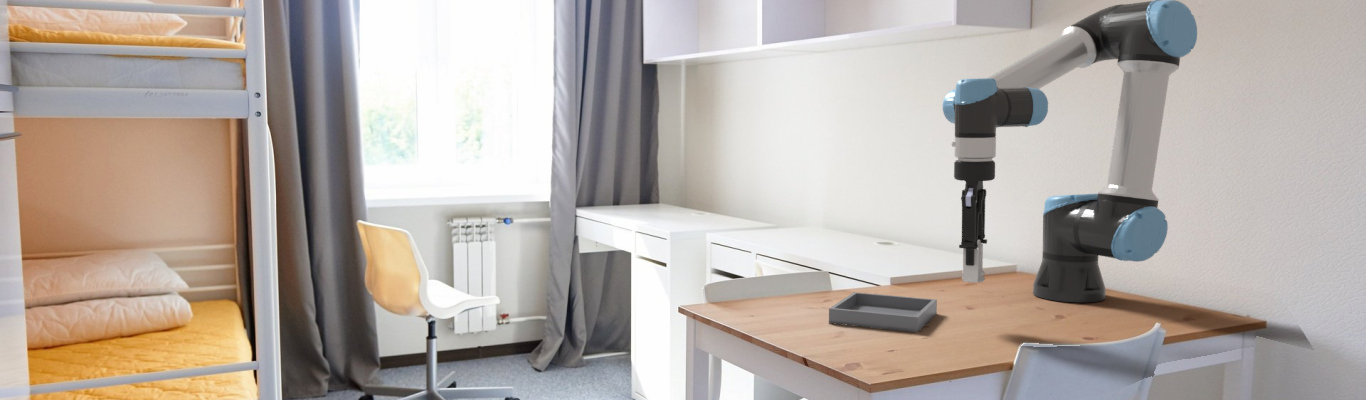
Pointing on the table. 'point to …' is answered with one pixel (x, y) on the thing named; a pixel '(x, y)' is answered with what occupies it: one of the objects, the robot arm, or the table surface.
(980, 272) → the rook chess piece
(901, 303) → the tray
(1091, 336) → the table surface
